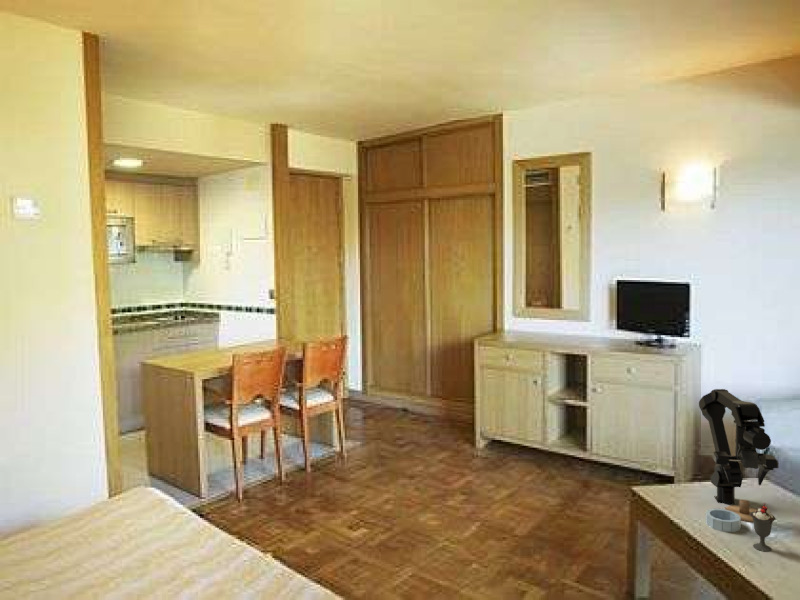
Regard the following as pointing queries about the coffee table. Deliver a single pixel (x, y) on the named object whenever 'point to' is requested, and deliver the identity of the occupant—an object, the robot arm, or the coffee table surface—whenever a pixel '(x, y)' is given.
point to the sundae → (762, 526)
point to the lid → (742, 510)
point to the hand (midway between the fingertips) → (744, 483)
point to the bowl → (723, 520)
